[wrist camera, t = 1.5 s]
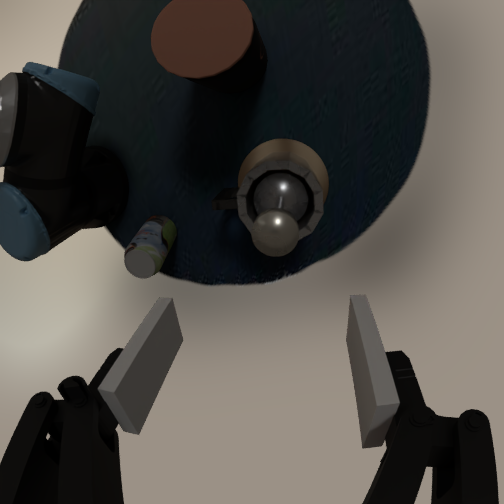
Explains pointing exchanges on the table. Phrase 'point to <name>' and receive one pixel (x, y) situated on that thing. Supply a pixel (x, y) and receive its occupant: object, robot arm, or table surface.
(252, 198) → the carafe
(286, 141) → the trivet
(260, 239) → the plunger
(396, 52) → the table surface
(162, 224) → the beverage can
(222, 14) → the coffee jar
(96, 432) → the robot arm
